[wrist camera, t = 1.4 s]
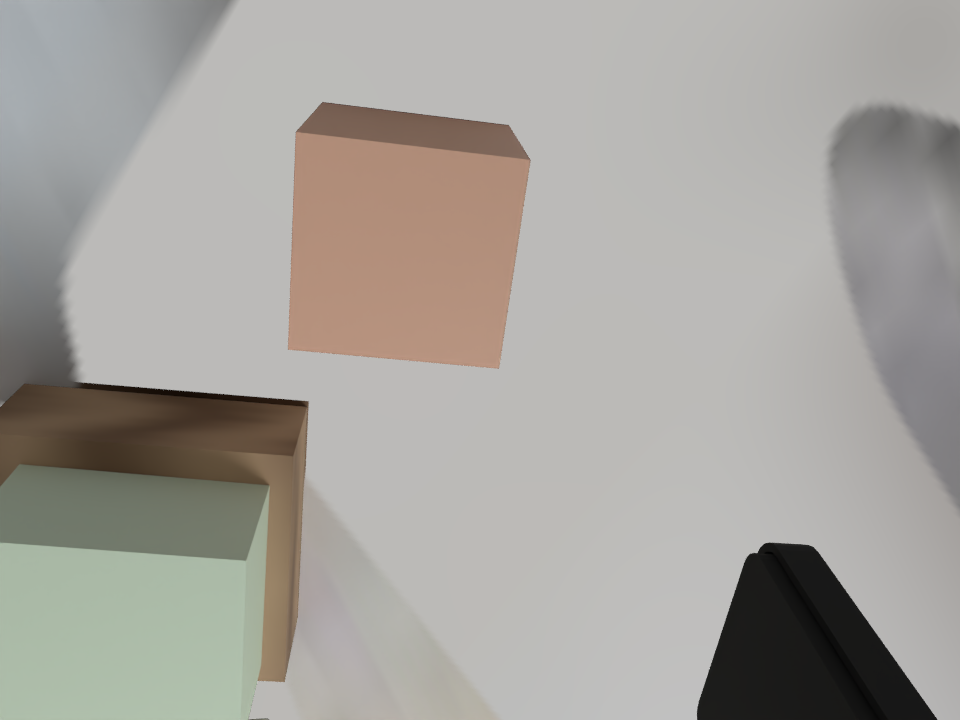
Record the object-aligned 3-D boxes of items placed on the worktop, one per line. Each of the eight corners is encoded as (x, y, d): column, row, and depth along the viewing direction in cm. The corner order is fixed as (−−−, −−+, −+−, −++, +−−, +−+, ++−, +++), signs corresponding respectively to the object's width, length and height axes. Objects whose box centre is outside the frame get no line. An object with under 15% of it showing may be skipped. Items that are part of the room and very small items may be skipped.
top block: (269, 485, 27) (246, 560, 24) (261, 665, 31) (239, 755, 27) (19, 464, 27) (-45, 539, 23) (37, 651, 30) (-16, 743, 26)
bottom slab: (308, 400, 31) (293, 456, 27) (299, 609, 35) (284, 681, 31) (30, 378, 30) (-26, 432, 26) (53, 595, 34) (8, 669, 30)
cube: (508, 125, 27) (530, 160, 21) (484, 297, 29) (498, 368, 24) (322, 101, 26) (296, 132, 21) (314, 280, 28) (288, 349, 23)
